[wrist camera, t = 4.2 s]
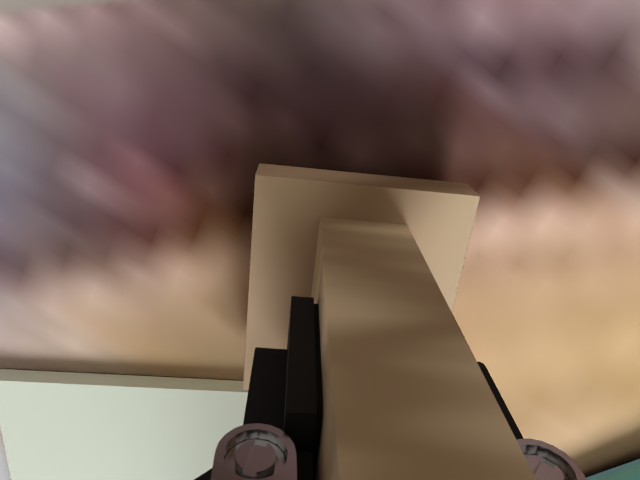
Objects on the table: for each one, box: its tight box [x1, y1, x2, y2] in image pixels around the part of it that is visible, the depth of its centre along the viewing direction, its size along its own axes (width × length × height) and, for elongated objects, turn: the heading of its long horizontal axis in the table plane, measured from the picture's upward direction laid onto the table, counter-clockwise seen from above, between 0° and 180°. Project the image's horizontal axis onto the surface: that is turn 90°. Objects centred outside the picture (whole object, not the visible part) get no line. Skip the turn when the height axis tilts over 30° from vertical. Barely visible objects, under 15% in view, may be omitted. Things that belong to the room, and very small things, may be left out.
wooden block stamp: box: [243, 163, 536, 480], centre depth 11 cm, size 6×7×11 cm
